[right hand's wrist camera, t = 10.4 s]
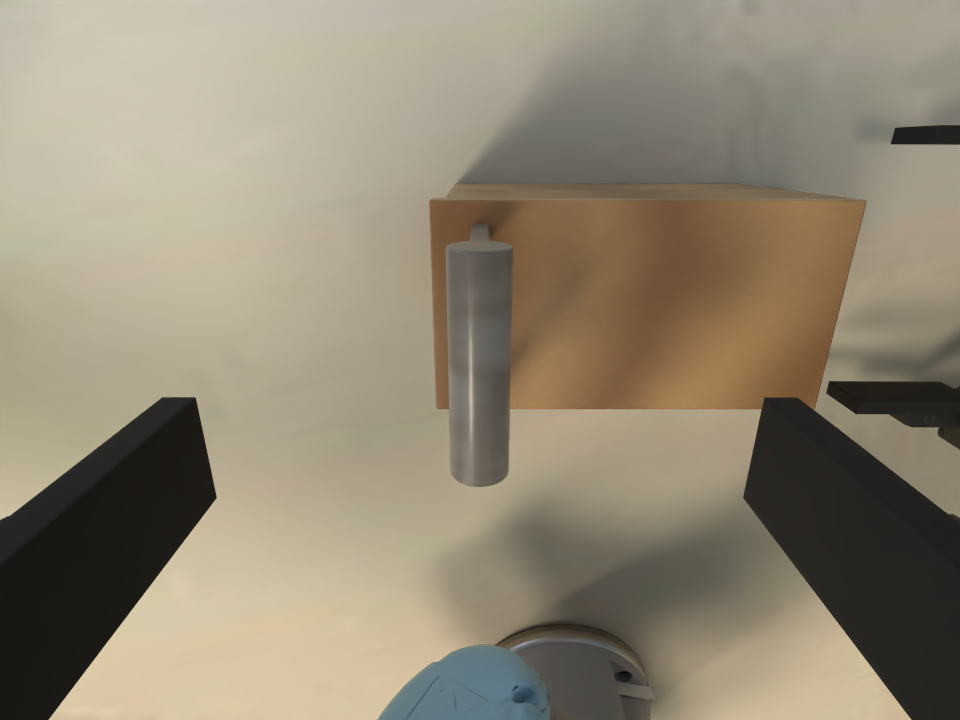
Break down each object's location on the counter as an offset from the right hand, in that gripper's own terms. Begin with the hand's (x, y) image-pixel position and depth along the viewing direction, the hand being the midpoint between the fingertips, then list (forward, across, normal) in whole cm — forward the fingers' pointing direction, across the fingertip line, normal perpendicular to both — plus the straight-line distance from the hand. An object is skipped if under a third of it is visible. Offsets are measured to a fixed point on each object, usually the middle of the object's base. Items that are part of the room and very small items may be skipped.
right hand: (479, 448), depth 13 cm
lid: (+12, -7, 0) cm, 14 cm away
